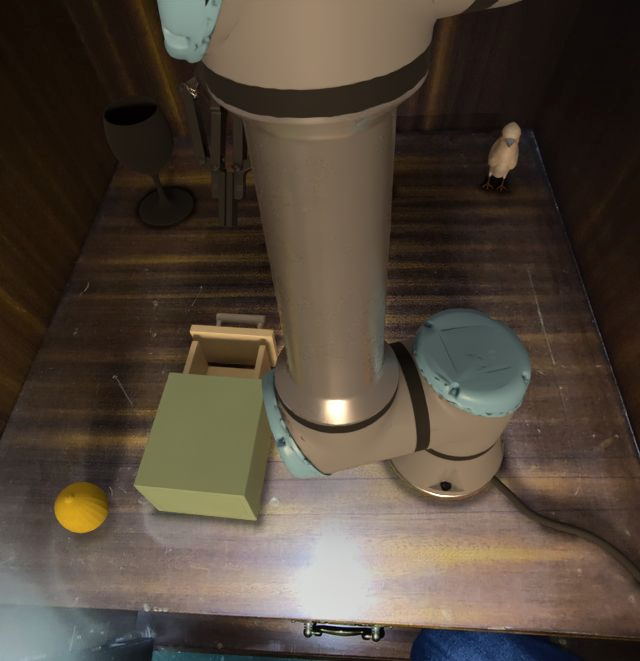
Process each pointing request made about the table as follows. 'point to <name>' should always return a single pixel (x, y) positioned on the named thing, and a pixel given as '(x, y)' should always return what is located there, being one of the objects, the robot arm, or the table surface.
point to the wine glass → (146, 154)
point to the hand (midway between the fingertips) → (228, 226)
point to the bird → (504, 153)
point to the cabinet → (207, 447)
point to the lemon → (81, 507)
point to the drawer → (232, 347)
